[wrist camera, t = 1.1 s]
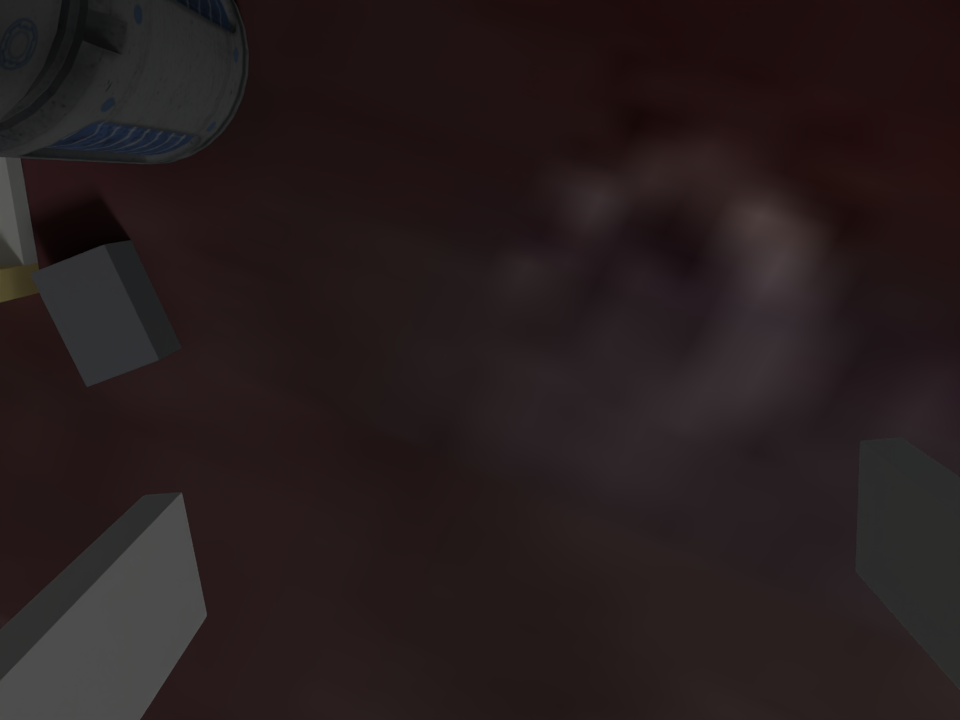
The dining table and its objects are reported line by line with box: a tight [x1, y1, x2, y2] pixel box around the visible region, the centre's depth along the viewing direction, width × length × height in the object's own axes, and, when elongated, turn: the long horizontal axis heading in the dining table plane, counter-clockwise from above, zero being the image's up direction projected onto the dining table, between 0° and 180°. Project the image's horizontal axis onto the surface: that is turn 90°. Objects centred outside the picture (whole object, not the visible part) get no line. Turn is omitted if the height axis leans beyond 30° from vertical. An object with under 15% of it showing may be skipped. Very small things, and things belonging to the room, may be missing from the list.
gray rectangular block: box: [30, 240, 181, 387], centre depth 38 cm, size 6×4×3 cm, turn 20°
